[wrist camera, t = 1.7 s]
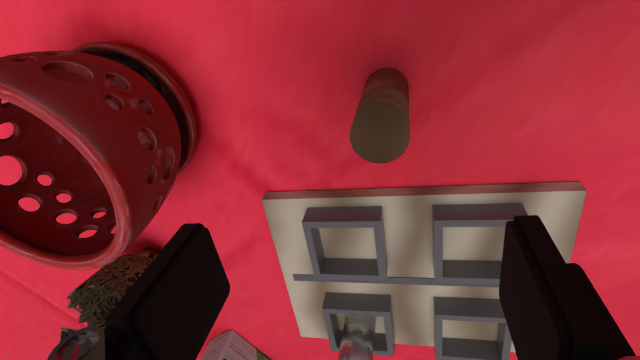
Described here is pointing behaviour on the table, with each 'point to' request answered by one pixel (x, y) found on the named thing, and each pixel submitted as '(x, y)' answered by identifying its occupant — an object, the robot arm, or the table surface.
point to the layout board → (409, 262)
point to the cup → (109, 286)
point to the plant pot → (89, 149)
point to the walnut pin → (382, 117)
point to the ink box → (231, 348)
